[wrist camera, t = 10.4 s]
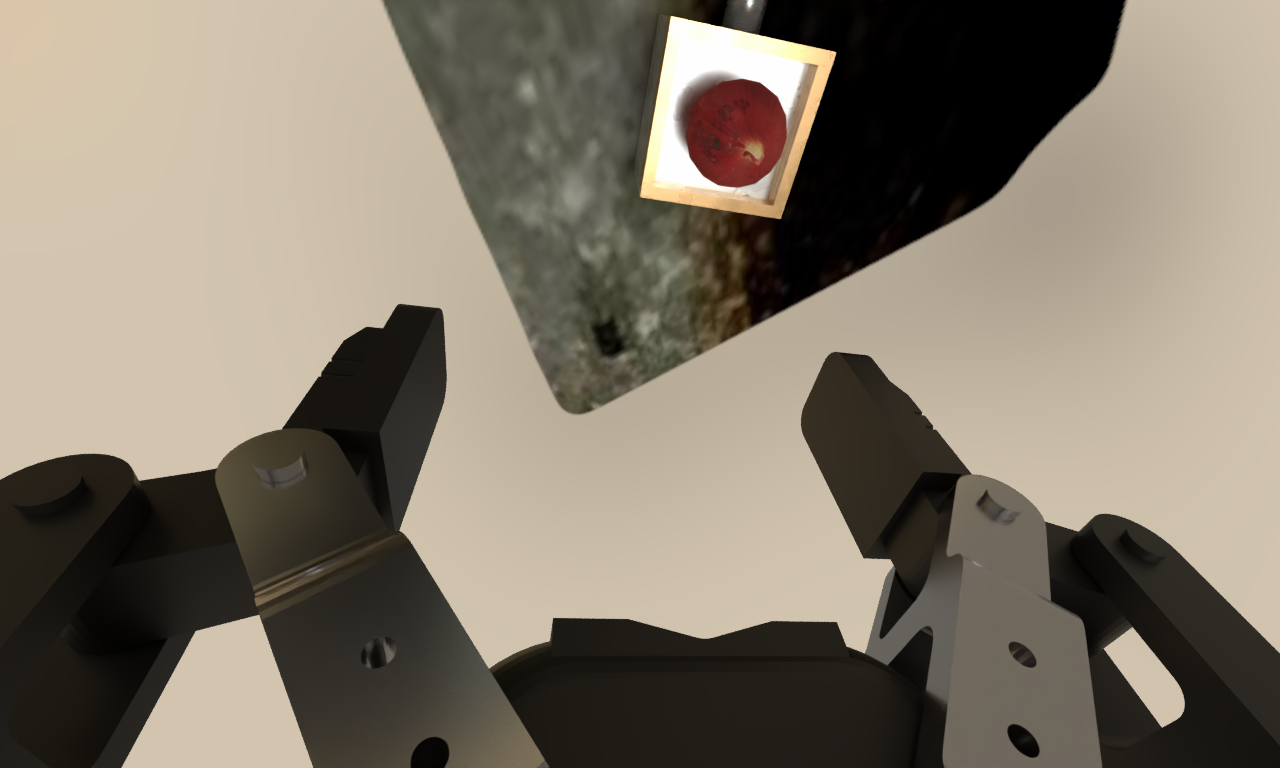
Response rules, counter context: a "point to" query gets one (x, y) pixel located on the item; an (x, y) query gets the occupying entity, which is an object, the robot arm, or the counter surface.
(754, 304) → the counter surface
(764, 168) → the onion
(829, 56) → the wooden tray
